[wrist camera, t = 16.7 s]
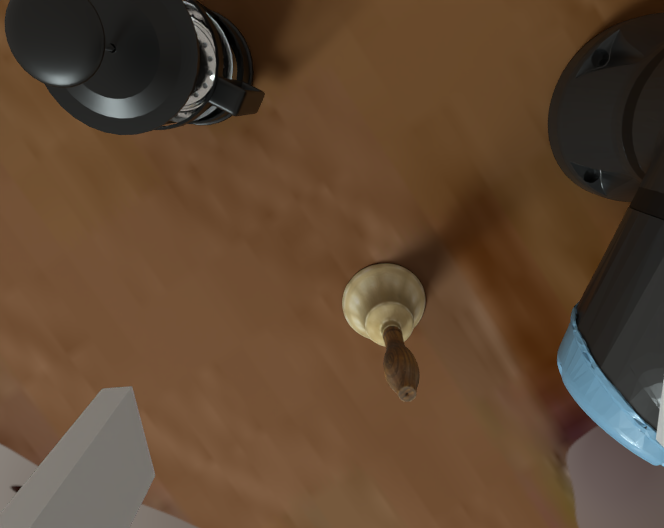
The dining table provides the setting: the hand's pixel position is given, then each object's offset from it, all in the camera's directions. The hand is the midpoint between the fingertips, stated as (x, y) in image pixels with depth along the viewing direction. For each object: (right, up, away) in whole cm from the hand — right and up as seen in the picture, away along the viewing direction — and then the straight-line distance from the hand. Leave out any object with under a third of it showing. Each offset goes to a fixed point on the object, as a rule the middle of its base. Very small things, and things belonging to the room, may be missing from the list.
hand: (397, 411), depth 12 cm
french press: (-13, +20, +30) cm, 39 cm away
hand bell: (+4, 0, +37) cm, 37 cm away
